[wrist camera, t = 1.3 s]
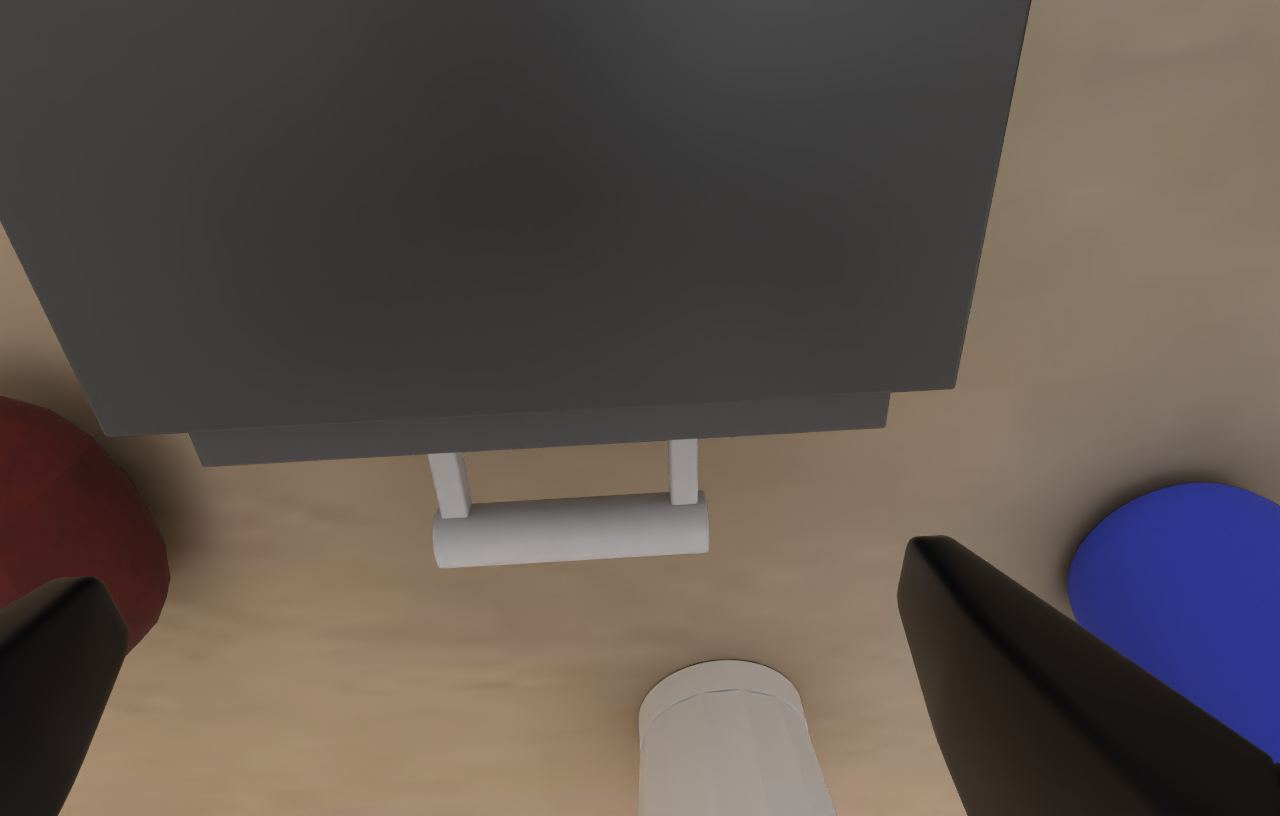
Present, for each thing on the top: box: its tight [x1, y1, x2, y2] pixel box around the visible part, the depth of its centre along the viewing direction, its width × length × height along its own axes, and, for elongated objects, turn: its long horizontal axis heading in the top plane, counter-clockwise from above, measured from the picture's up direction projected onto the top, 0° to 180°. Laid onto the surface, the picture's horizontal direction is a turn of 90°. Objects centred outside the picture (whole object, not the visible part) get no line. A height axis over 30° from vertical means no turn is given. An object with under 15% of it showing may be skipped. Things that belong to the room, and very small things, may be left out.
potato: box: [0, 396, 170, 655], centre depth 20 cm, size 8×9×6 cm
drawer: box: [189, 393, 890, 568], centre depth 13 cm, size 18×11×7 cm, turn 2°
